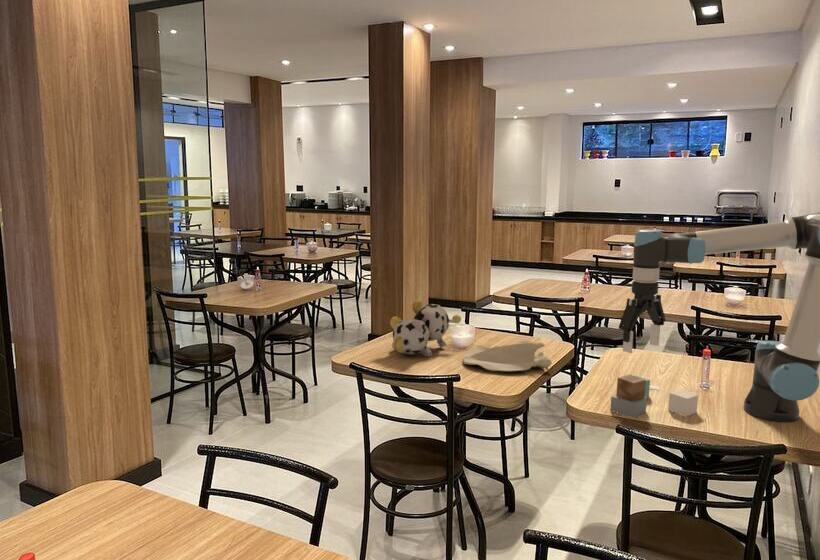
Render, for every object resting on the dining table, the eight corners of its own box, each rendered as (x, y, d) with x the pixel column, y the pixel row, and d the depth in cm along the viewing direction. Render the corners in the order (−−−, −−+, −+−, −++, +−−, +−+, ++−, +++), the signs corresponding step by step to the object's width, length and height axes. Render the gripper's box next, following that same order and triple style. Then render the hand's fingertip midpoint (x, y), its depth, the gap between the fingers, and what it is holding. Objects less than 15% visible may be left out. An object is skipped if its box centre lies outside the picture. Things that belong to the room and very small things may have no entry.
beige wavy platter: (534, 377, 216) (538, 399, 222) (555, 342, 230) (558, 363, 235) (448, 359, 237) (453, 379, 242) (472, 327, 250) (476, 347, 256)
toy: (374, 322, 244) (411, 333, 232) (424, 289, 266) (460, 298, 254) (381, 366, 253) (418, 379, 241) (429, 330, 275) (464, 341, 263)
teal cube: (648, 396, 205) (650, 379, 204) (637, 400, 201) (639, 383, 200) (633, 391, 210) (634, 374, 209) (622, 394, 206) (623, 378, 205)
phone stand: (659, 399, 203) (659, 394, 203) (621, 394, 208) (622, 389, 208) (659, 381, 222) (660, 377, 221) (625, 377, 226) (625, 372, 226)
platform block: (645, 411, 192) (647, 397, 191) (634, 418, 186) (635, 403, 185) (621, 405, 197) (622, 390, 196) (610, 411, 192) (611, 396, 191)
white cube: (696, 413, 191) (698, 394, 190) (685, 417, 188) (687, 398, 187) (678, 407, 196) (680, 389, 195) (668, 410, 192) (669, 392, 191)
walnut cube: (644, 397, 190) (646, 379, 189) (632, 401, 187) (633, 383, 186) (628, 392, 195) (629, 374, 194) (616, 395, 192) (617, 377, 191)
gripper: (658, 275, 194) (654, 339, 197) (608, 283, 180) (605, 351, 183) (680, 278, 188) (675, 344, 191) (630, 286, 174) (626, 357, 177)
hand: (641, 348), depth 187 cm, fingers open, 13 cm apart
